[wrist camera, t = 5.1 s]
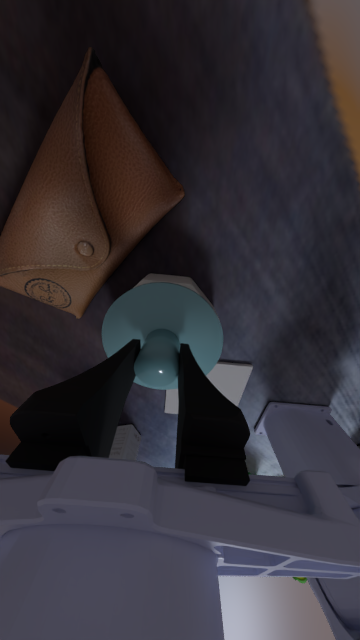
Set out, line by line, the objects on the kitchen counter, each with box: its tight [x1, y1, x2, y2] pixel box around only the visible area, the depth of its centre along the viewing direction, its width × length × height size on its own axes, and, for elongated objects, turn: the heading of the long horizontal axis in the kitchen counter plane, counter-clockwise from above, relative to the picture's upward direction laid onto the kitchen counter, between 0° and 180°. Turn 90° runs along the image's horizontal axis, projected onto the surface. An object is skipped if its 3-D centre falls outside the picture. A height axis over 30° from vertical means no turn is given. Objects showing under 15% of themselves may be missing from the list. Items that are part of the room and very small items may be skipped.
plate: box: [165, 362, 253, 414], centre depth 23 cm, size 11×11×1 cm
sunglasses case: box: [0, 47, 185, 318], centre depth 13 cm, size 18×7×7 cm
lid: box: [102, 282, 223, 390], centre depth 13 cm, size 11×11×4 cm
